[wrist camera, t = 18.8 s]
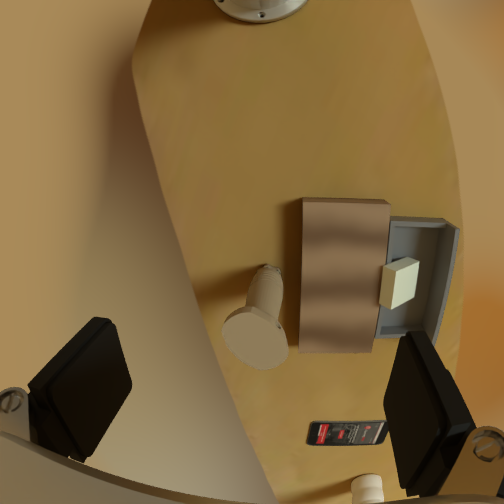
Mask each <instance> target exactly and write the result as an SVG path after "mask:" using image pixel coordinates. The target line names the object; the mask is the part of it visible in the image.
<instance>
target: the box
mask: <svg viewBox="0 0 504 504" xmlns="http://www.w3.org/2000/svg"><path fill="white" fill-rule="evenodd" d="M459 231H460V229H459V228H457V227H456V226H454V225H453V224H451V223H449V222H448V221H446V220H445V219H443V218H424V217H402V216H390V222H389V234H388V244H387V254H386V263H385V265H387V264H390V263H392V262H395V261H398V260H400V259H403V258H405V257H410V258H412V259H415V260H418V261H419V269H418V276H417V282H416V289H415V295H414V297H413V298H412V299H410V300H408V301H406V302H404V303H403V304H401V305H399V306H397V307H395V308H393V309H391V310H390V309H388V308H386V307H384V306H383V305H381V304H380V306H379V312H378V318H377V324H376V330H375V335H374V337H375V339H376V338H400V337H401V336H405V334H406V332H408V331H421V330H423V331H425V332H426V333H427V335H428V337H429V339H430V341H431V342H432V344H433V346H435V343H436V340H437V336H438V333H439V329H440V325H441V322H442V318H443V314H444V310H445V306H446V302H447V297H448V293H449V288H450V284H451V279H452V274H453V268H454V263H455V257H456V251H457V245H458V238H459Z"/></svg>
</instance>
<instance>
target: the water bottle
mask: <svg viewBox="0 0 504 504" xmlns="http://www.w3.org/2000/svg"><path fill="white" fill-rule="evenodd" d="M351 491H352V504H369V503H380V502H383V501H384V495H383V491H382V480H381V477H380V476H378V475H376V474H366V475H362V476H359V477H357V478H356V479H354V480H353V481H352V483H351Z"/></svg>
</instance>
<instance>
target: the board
mask: <svg viewBox="0 0 504 504" xmlns="http://www.w3.org/2000/svg"><path fill="white" fill-rule="evenodd" d="M390 208H391V204H389V203H388V202H387V201H385V200H380V199H353V198H309V197H302V265H301V297H300V321H299V344H298V353H371V351H372V346H373V341H374V335H375V330H376V324H377V318H378V312H379V306H380V304H379V299H380V291H381V283H382V273H383V266H385V263H386V254H387V244H388V234H389V222H390Z"/></svg>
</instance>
